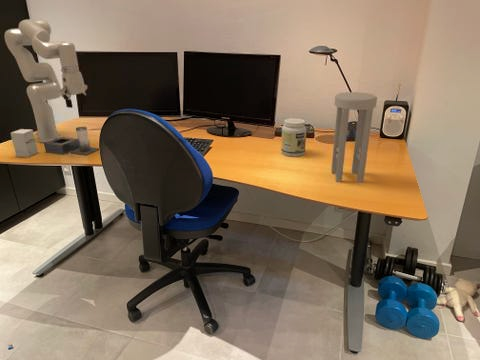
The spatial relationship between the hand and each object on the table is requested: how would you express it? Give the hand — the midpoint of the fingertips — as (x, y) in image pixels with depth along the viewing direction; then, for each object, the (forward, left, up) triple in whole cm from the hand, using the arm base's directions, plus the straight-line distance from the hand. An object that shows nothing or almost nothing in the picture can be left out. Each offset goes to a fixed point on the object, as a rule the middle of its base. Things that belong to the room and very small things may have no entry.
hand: (77, 105), depth 187 cm
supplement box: (-25, -14, -25) cm, 38 cm away
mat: (0, 0, -24) cm, 24 cm away
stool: (+132, +11, -24) cm, 135 cm away
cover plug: (0, 0, -24) cm, 24 cm away
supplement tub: (+103, +33, -25) cm, 111 cm away
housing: (-13, -2, -24) cm, 28 cm away
